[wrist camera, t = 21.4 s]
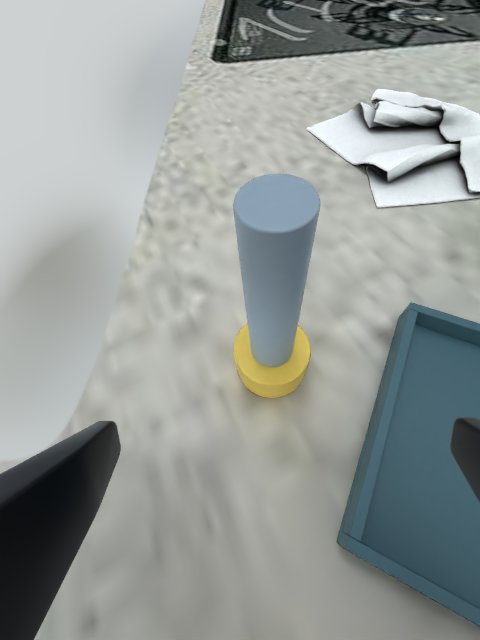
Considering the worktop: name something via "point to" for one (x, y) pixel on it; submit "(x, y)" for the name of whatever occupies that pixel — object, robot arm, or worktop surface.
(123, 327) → the worktop surface
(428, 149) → the cloth
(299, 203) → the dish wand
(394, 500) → the tray
